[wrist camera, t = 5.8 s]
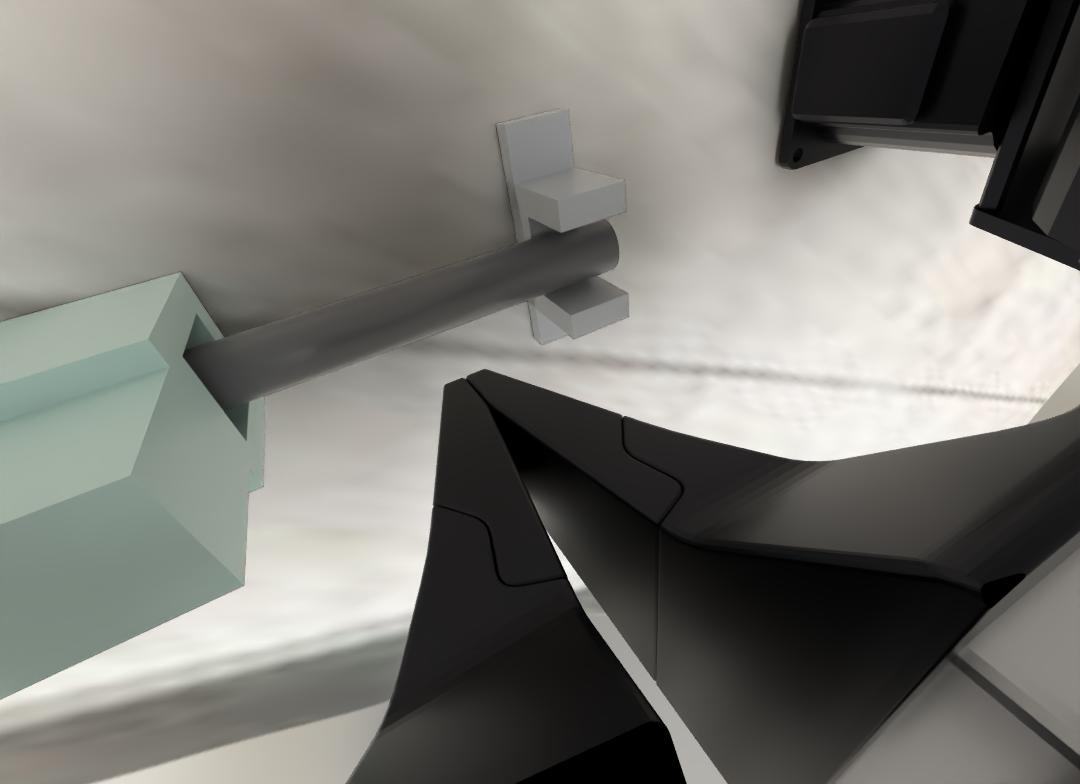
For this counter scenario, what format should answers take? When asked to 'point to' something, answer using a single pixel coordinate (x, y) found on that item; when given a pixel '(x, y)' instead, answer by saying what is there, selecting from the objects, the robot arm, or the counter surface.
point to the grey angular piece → (455, 279)
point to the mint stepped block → (114, 476)
